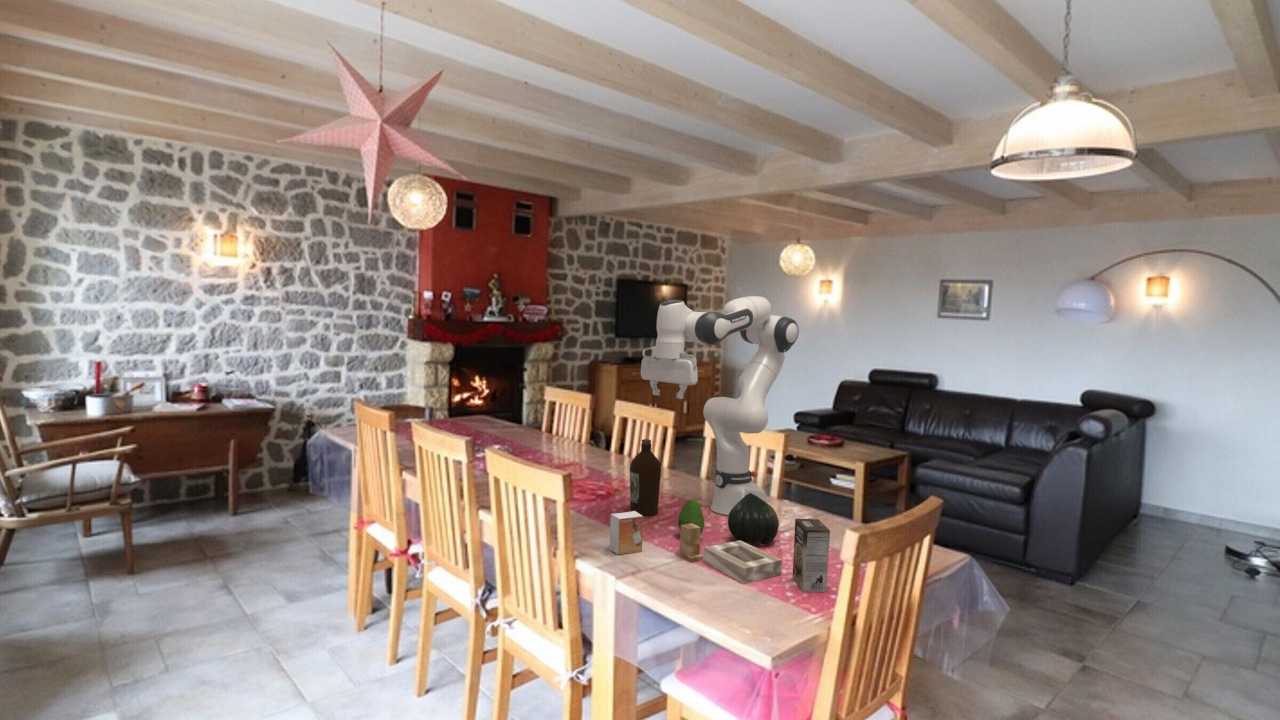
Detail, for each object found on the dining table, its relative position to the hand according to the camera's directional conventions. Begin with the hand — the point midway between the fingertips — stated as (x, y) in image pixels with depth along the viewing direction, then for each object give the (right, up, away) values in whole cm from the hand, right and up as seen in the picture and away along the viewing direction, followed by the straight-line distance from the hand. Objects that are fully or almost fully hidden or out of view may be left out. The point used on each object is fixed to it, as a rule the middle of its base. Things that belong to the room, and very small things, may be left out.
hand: (667, 396), depth 214 cm
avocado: (+7, -43, -4) cm, 44 cm away
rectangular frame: (+19, -45, -27) cm, 56 cm away
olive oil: (-7, -41, +20) cm, 46 cm away
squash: (+25, -44, -5) cm, 51 cm away
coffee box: (+35, -47, -37) cm, 69 cm away
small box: (-13, -43, -16) cm, 48 cm away
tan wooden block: (+5, -44, -20) cm, 49 cm away
